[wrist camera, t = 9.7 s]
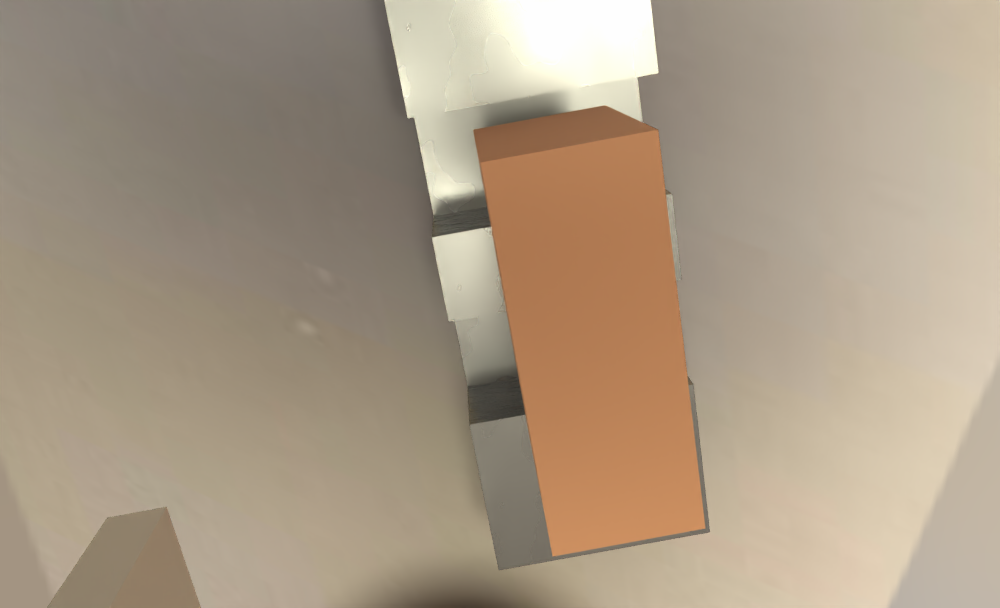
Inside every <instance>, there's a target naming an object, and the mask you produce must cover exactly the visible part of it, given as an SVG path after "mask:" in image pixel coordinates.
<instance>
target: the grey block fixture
mask: <svg viewBox="0 0 1000 608" xmlns="http://www.w3.org/2000/svg"><path fill="white" fill-rule="evenodd" d="M384 2H385V7H386V12H387V17H388V22H389V27H390V32H391V37H392V42H393V47H394V52H395V57H396V62H397V67H398V72H399V77H400V82H401V87H402V92H403V97H404V102H405V107H406V112H407V117H408V118H413V117H414V119H415V124H416V129H417V134H418V140H419V145H420V150H421V155H422V160H423V165H424V170H425V175H426V180H427V185H428V190H429V195H430V200H431V205H432V210H433V215H434V219H433V230H432V241H433V246H434V251H435V256H436V261H437V266H438V271H439V276H440V281H441V286H442V291H443V296H444V301H445V306H446V311H447V316H448V321H449V322H451V321H455V326H456V331H457V336H458V341H459V346H460V351H461V356H462V361H463V366H464V371H465V376H466V381H467V386H468V404H469V425H470V430H471V435H472V440H473V445H474V450H475V455H476V460H477V465H478V470H479V475H480V480H481V485H482V490H483V495H484V500H485V505H486V510H487V515H488V520H489V524H490V529H491V534H492V539H493V544H494V549H495V554H496V559H497V564H498V569H499V570H503V569H509V568H514V567H520V566H525V565H531V564H536V563H542V562H547V561H553V560H559V559H564V558H570V557H575V556H581V555H586V554H592V553H597V552H603V551H608V550H614V549H619V548H625V547H631V546H636V545H642V544H647V543H653V542H658V541H664V540H669V539H675V538H680V537H686V536H691V535H697V534H703V533H708V532H710V529H709V520H708V511H707V502H706V493H705V484H704V475H703V466H702V457H701V448H700V439H699V430H698V421H697V412H696V403H695V394H694V386H693V383H692V382H691V380H690V379H689V377H688V376H687V377H688V386H689V394H690V402H691V411H692V419H693V428H694V436H695V445H696V453H697V461H698V470H699V478H700V487H701V495H702V503H703V512H704V520H705V529H700V530H694V531H689V532H683V533H678V534H673V535H667V536H662V537H656V538H651V539H646V540H640V541H635V542H629V543H624V544H618V545H613V546H608V547H602V548H597V549H591V550H586V551H581V552H575V553H570V554H564V555H559V556H552V551H551V545H550V540H549V535H548V530H547V525H546V520H545V514H544V509H543V504H542V499H541V494H540V489H539V484H538V478H537V473H536V468H535V463H534V458H533V453H532V447H531V442H530V437H529V432H528V426H527V421H526V415H525V410H524V404H523V399H522V394H521V388H520V383H519V377H518V372H517V366H516V361H515V355H514V350H513V345H512V339H511V334H510V328H509V323H508V317H507V312H506V306H505V301H504V296H503V290H502V285H501V279H500V274H499V268H498V263H497V257H496V252H495V247H494V241H493V236H492V230H491V225H490V219H489V214H488V208H487V203H486V198H485V192H484V187H483V181H482V176H481V170H480V165H479V159H478V154H477V149H476V143H475V138H474V132H473V130H474V129H479V128H485V127H490V126H496V125H501V124H506V123H512V122H517V121H523V120H528V119H533V118H539V117H544V116H550V115H555V114H560V113H566V112H571V111H577V110H582V109H587V108H593V107H598V106H603V105H606V106H608V107H611V108H613V109H615V110H617V111H619V112H621V113H623V114H626V115H628V116H630V117H632V118H634V119H636V120H638V121H640V122H643V121H642V112H641V104H640V95H639V87H638V79H637V77H640V76H645V75H651V74H657V73H658V64H657V55H656V46H655V37H654V28H653V19H652V10H651V1H650V0H384ZM665 192H666V200H667V209H668V217H669V226H670V234H671V243H672V251H673V259H674V268H675V276H676V281H678V280H682V278H681V269H680V260H679V251H678V242H677V234H676V225H675V216H674V207H673V198H672V194H671V193H670V192H669V191H667V190H666V189H665Z"/></svg>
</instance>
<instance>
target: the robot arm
mask: <svg viewBox="0 0 1000 608" xmlns="http://www.w3.org/2000/svg"><path fill="white" fill-rule="evenodd" d="M47 608H201V607H200V604H199V601H198V598H197V595H196V592H195V589H194V586H193V583H192V580H191V577H190V574H189V571H188V569H187V566H186V563H185V560H184V557H183V554H182V551H181V548H180V545H179V542H178V539H177V536H176V533H175V530H174V528H173V525H172V522H171V519H170V516H169V513H168V510H167V507H163V508H158V509H152V510H147V511H141V512H136V513H130V514H125V515H119V516H114V517H108V518H107V519H106V521H105V522H104V524H103V525H102V526H101V528H100V529H99V531H98V532H97V534H96V535H95V537H94V538H93V540H92V541H91V543H90V544H89V546H88V547H87V549H86V550H85V552H84V553H83V555H82V556H81V558H80V559H79V561H78V562H77V564H76V565H75V567H74V568H73V570H72V571H71V573H70V574H69V576H68V577H67V579H66V580H65V582H64V583H63V584H62V586H61V587H60V589H59V590H58V592H57V593H56V595H55V596H54V598H53V599H52V601H51V602H50V604H49V605H48V607H47Z"/></svg>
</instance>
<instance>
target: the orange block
mask: <svg viewBox="0 0 1000 608" xmlns="http://www.w3.org/2000/svg"><path fill="white" fill-rule="evenodd" d="M473 132H474V138H475V143H476V149H477V154H478V159H479V165H480V170H481V176H482V181H483V187H484V192H485V198H486V203H487V208H488V214H489V219H490V225H491V230H492V236H493V241H494V247H495V252H496V257H497V263H498V268H499V274H500V279H501V285H502V290H503V296H504V301H505V306H506V312H507V317H508V323H509V328H510V334H511V339H512V345H513V350H514V355H515V361H516V366H517V372H518V377H519V383H520V388H521V394H522V399H523V404H524V410H525V415H526V421H527V426H528V432H529V437H530V442H531V447H532V453H533V458H534V463H535V468H536V473H537V478H538V484H539V489H540V494H541V499H542V504H543V509H544V514H545V520H546V525H547V530H548V535H549V540H550V545H551V551H552V556H559V555H564V554H570V553H575V552H581V551H586V550H591V549H597V548H602V547H608V546H613V545H618V544H624V543H629V542H635V541H640V540H646V539H651V538H656V537H662V536H667V535H673V534H678V533H683V532H689V531H694V530H700V529H705V520H704V512H703V503H702V495H701V487H700V478H699V470H698V461H697V453H696V445H695V436H694V428H693V419H692V411H691V402H690V394H689V386H688V377H687V369H686V360H685V352H684V344H683V335H682V327H681V318H680V310H679V301H678V293H677V285H676V276H675V268H674V259H673V251H672V243H671V234H670V226H669V217H668V209H667V200H666V192H665V184H664V175H663V167H662V158H661V150H660V142H659V133H658V129H655V128H653V127H651V126H649V125H647V124H645V123H643V122H640V121H638V120H636V119H634V118H632V117H630V116H628V115H626V114H623V113H621V112H619V111H617V110H615V109H613V108H611V107H608V106H606V105H603V106H598V107H593V108H587V109H582V110H577V111H571V112H566V113H560V114H555V115H550V116H544V117H539V118H533V119H528V120H523V121H517V122H512V123H506V124H501V125H496V126H490V127H485V128H479V129H474V130H473Z"/></svg>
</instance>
